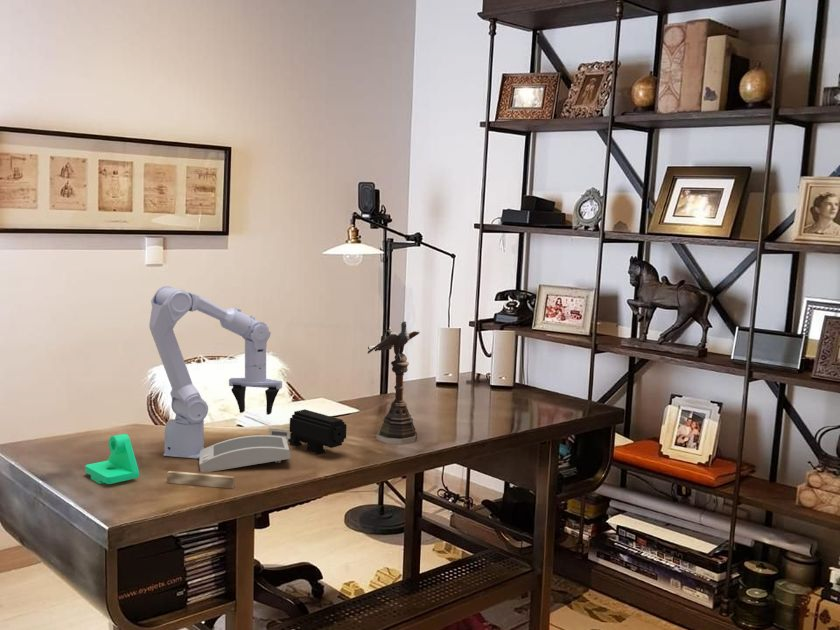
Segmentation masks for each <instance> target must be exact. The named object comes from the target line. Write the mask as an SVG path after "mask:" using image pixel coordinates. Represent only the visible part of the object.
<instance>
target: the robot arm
mask: <svg viewBox="0 0 840 630" xmlns="http://www.w3.org/2000/svg"><path fill="white" fill-rule="evenodd" d="M150 303H151V310H150V311H151V312H150V318H149V325H148V326H149V330H150V333H151V336H152V338H153V341H154V343H155V346H156V349H157V352H158V354H159V358H160V359H161V363H162V365H163V368H164V370H165V373H166V376H167V378H168V381H169V384H170V388H171V391H170V396H171V409H172V411H173V413H174V414H175V418H174V419H173V418H172V419H171V418H170V419H168V421H167V422H166V423H165V427H164V453H163V456H164V457H176V458H187V459H200V451H201V450H203V449H205V448H206V447H204V445H205V444H204V442H205V439H204V437H205V436H204V431H205V428H204V427H205V424H204V423H205V421H204V419H206V417H207V415H208V412H209V406H208V404H207V401H206V400H204V399H203V398H202V397H201V394H200V392H199V391H198V389H197V388H196V387H195V386H194V384H193V381H192V378H191V376H190V373H189V370H188V367H187V365H186V362H185V359H184V357H183V354H182V351H181V348H180V344H179V343H178V339H177V337H176V334H175V331H174V328H175V326H176V324H177V323H178V321H180V319H182V318H183V317H184V316H185V315H186V314H187V313H188V312H196V311H198V312H200V313H202V314H204V315H207V316H209V317H211V318H214V319H216V320H219V323H220V325H221V327H222V328H223V329H225V330H227V331H229V332H231V333H234V334H235V335H238V336H240V337H242V338H243V340H244V377H230V378H229V379H228V387H232V388H231V393H232V395H233V396H234V398H235V401H236V403H237V405H238V410H239V414H243V413H244V412H245V411H246V402H245V399H246V390H247V387H248V388H264V389H265V400H266V410H265V411H266V415H269V416H270V415H271V414H272V412H273V406H274V402H275V400H276V397H277V395H278V394H279V391H280V390H281V389H282V388H283V381H282V380H276V379H271V378H267V346H268V345H267V343H268V340H269V339H270V337H271V334H272V332H271V331H270V330H269V326H268V325H267V324H266V323H265V322H264V321H263V322H262V321H259V320H256V316H253V315H250V316H249V315H247V314H246V313H244V312H242V309H241V308H238V307H235V308H234V307H230V308H229V307H228V308H227V309H225V308H223V307H221V306H219V305H217V304H215V303H214V302H211V301H210V300H208V299H206V298H204V297H203V296H201V295H199V294H195V293H191V292H188V291H186V290H185V289H177V288H174V287H172V286H169V285H168V286H167V285H165V286H162V287H160V288H158V290H156V292H155V293H154V295H153V297H152V298H151V300H150Z"/></svg>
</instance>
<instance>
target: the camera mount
mask: <svg viewBox="0 0 840 630" xmlns="http://www.w3.org/2000/svg"><path fill="white" fill-rule="evenodd" d="M108 446H109V451H110V455H109V457H108V459H107V460H103V461H99V462H98V461H97V462H93V463H88V464H86V465H85V473H86V474H88V475H90V480H92V481H94V482H96V483H97V484H99V485H102V484H107V485H112V484H116V483H120V482H126V481H129V480H134V479H139V478H140V469H139V467H138V463H137V459H136V456H135V452H134V449H133V446H132V442H131V439H130V436H129V435H128V434H127V433H122V434H116V435H111V436H110V437H109V438H108Z"/></svg>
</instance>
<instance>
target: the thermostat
mask: <svg viewBox="0 0 840 630" xmlns="http://www.w3.org/2000/svg"><path fill="white" fill-rule="evenodd" d="M204 448H205V449H203V450H201V451H200V457H199V469H200V473H210V472H218V471H222V470H223V471H224V470H228V469H229V470H230V469H235V468H241V467H247V466H252V465H253V466H254V465H258V464H266V463H271V462H275V464H277V463H278V464H280V463H281V462H282V461H284V460H291V459H292V457H291V452H290V447H289V444H288V442H287V440H286V437H280V436H271V435H269V434H268V435H267V434H264V435H263V434H258V435H255V434H254V435H246V436H239V437H234V438H230V439H226V440H223V441H220V442H219V441H218V442H217V443H214V444H211V445H209V446H207V447H204Z"/></svg>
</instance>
